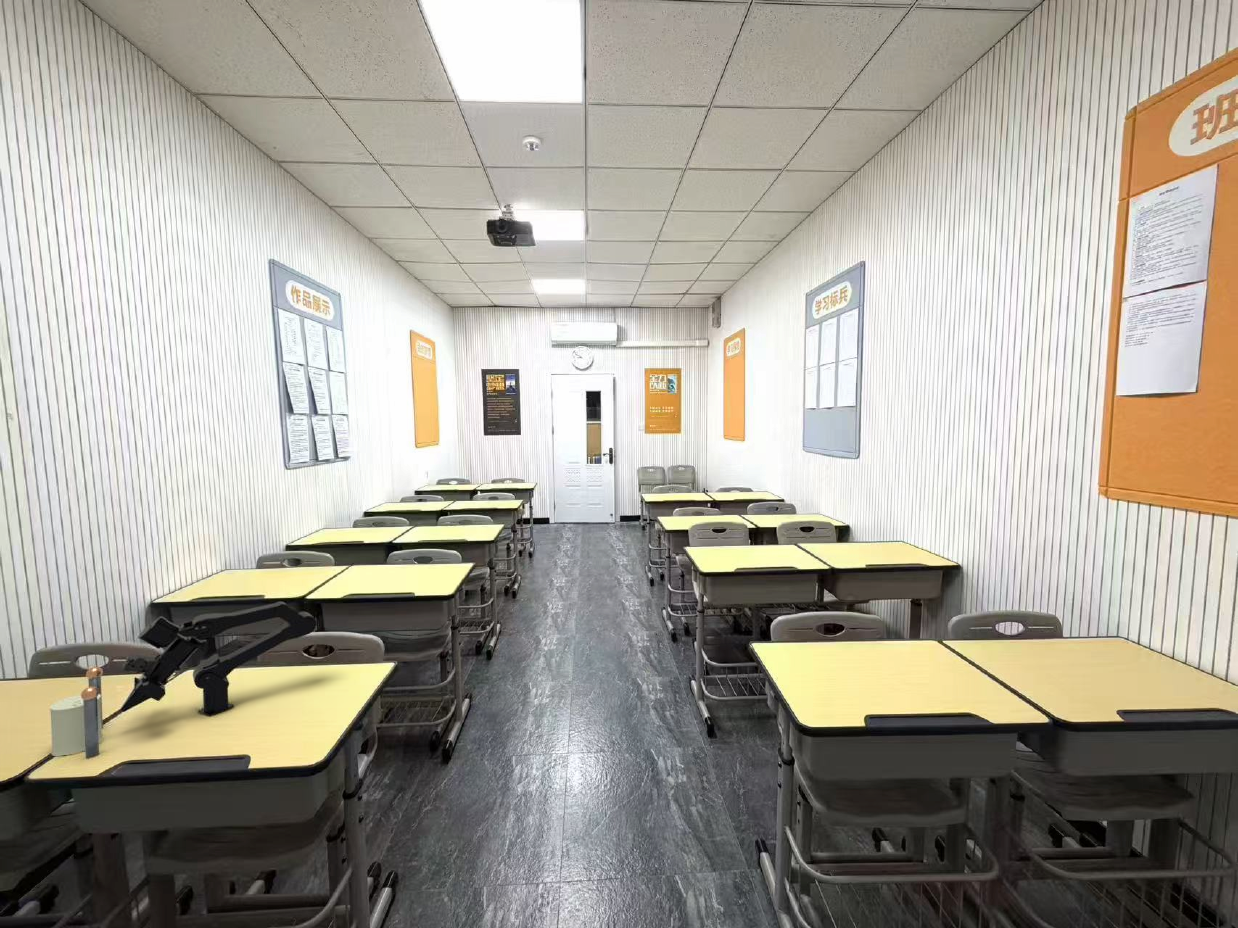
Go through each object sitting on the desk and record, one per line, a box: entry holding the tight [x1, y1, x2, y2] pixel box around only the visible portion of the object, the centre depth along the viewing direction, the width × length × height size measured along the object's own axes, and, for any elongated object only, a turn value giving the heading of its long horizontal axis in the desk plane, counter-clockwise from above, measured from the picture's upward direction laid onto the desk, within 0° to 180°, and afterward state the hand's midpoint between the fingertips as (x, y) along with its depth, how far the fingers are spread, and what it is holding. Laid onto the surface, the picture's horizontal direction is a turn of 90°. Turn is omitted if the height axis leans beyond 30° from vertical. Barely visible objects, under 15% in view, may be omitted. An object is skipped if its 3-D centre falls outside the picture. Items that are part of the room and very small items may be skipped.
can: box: [49, 694, 104, 757], centre depth 136 cm, size 9×9×12 cm
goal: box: [80, 666, 104, 759], centre depth 138 cm, size 20×3×17 cm, turn 42°
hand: (122, 710), depth 142 cm, fingers closed
